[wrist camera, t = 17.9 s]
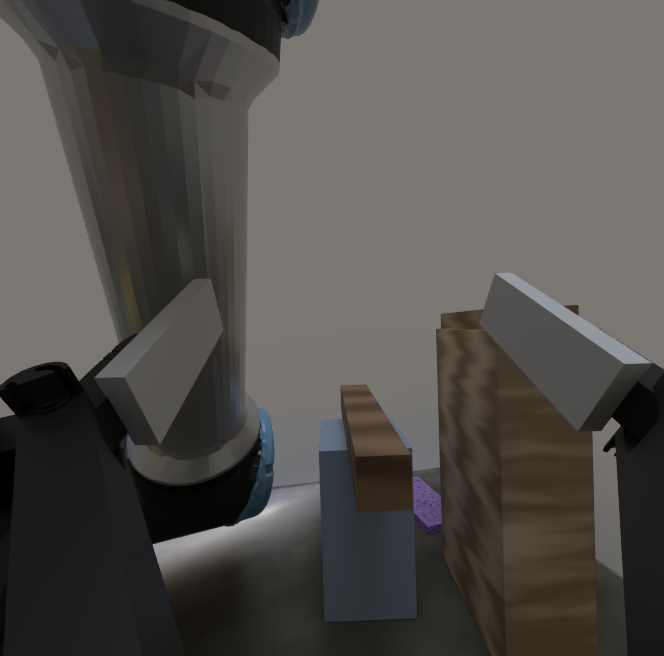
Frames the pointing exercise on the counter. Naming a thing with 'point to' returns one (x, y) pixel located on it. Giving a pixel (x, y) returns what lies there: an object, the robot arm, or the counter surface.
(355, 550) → the blue step
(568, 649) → the oak post
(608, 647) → the counter surface
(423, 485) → the sponges
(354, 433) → the walnut bar
